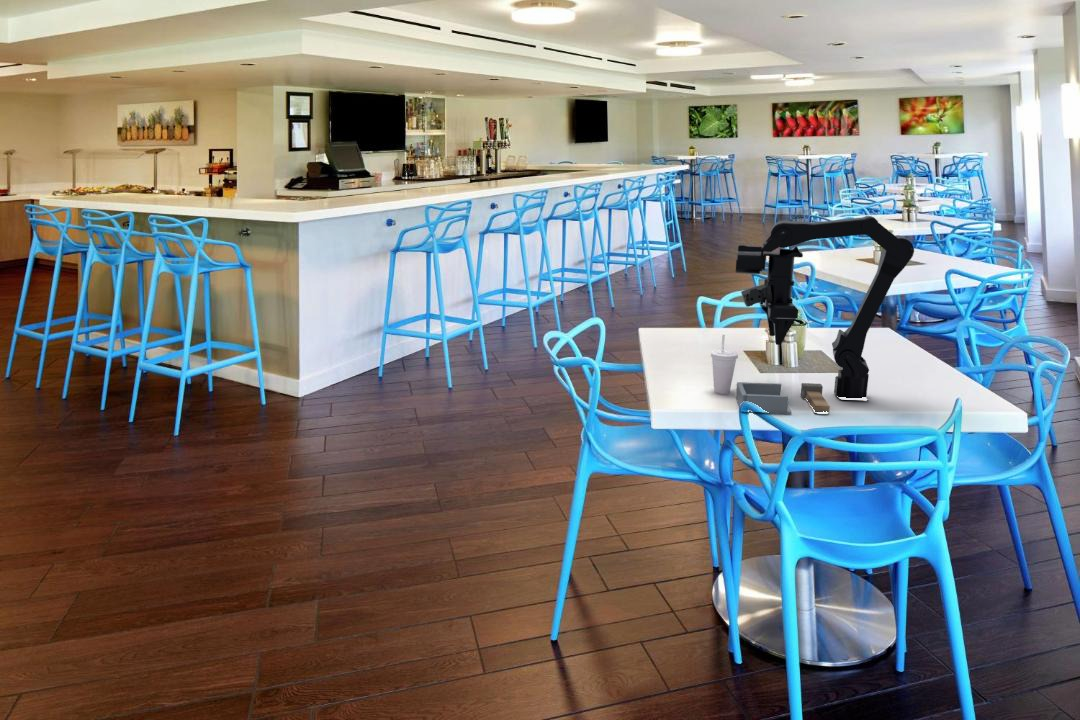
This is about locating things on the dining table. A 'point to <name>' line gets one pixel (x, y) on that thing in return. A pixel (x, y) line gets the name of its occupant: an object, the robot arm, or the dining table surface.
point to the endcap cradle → (763, 396)
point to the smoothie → (723, 368)
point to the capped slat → (814, 396)
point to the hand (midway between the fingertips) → (775, 340)
